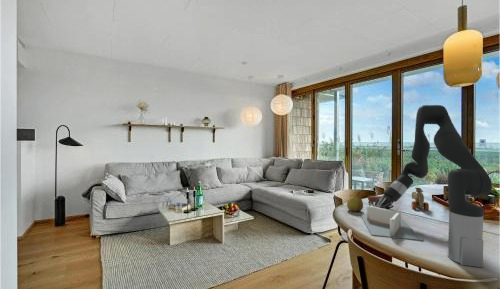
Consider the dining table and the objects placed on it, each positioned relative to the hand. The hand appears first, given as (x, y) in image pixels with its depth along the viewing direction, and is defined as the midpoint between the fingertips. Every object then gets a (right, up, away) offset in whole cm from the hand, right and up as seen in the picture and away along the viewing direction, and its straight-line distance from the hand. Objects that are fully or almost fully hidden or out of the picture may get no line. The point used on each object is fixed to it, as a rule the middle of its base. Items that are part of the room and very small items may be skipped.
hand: (373, 214), depth 130 cm
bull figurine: (+17, -3, +26) cm, 32 cm away
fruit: (-2, -3, +18) cm, 18 cm away
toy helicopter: (+42, -3, +26) cm, 50 cm away
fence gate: (+2, -3, -4) cm, 5 cm away
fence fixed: (+2, -4, -16) cm, 16 cm away
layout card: (+3, -4, -8) cm, 9 cm away
